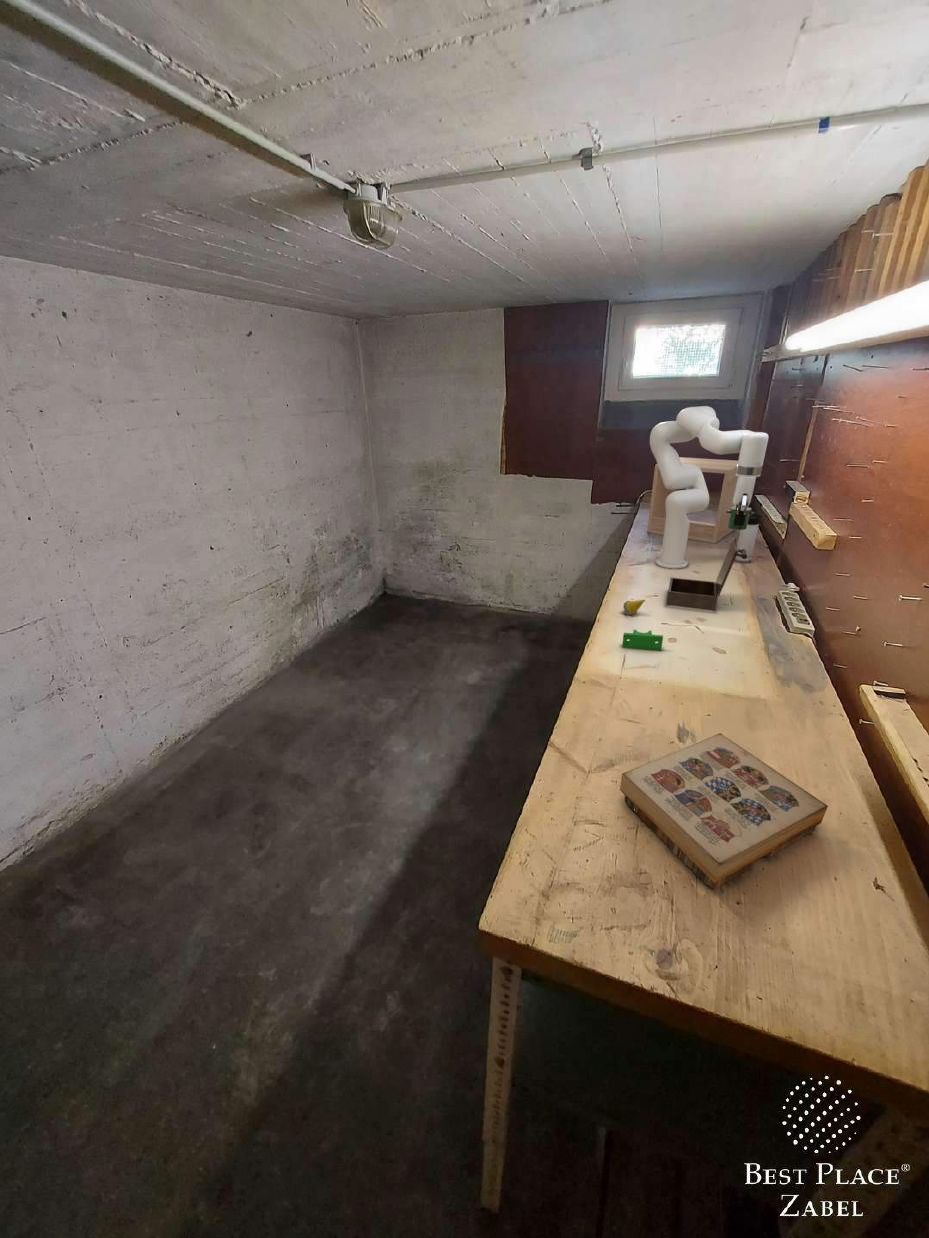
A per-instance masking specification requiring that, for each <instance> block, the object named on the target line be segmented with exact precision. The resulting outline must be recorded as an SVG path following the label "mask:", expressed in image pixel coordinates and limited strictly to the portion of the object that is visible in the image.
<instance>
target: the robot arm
mask: <svg viewBox="0 0 929 1238" xmlns="http://www.w3.org/2000/svg"><path fill="white" fill-rule="evenodd" d="M719 429H720V419H719V418H718V417H717V413H716V411H715V409H714V408H713V407H712V406H708V405H702V406H690V407H689V406H688V407H686V408H684V409H682V410H680V411H679V412H678V414H677V415H676V420H670V421H663V422H660V423H658V424H656V425H655V426H654V427H653V428H652V429H651V432H650V434H649V446H650V451H651V453H652V455H653V457H654V459H655V461H656V463H657V464H656V465H658V467H659V471H660V474H661V477H662V481H663V484H664V486H665V488H667V489H669V490H675V489H677V491H675V492H672V493H671V494H669V495H668V497H667V499H666V503H665V506H666V521H665V529H664V535H663V536H662V537H663V538H662V543H661V544H662V545H661V549H660V550H659V551H657V552H656V555H659V557H658V558H657V559H656V560H655V563H656V565H657V566H660V567H662V568H665V569H671V570H672V569H675V570H676V569H677V570H679V569H683V568H686V567H687V566H688V561H687V560H685V558H686V557H685V556H686V550H687V544H688V540H689V539H688V533H689V525H690V524H689V520H690V519H689V518H688V515H687V514H692V513H698V512H702V511H705V510H706V509H708V507H709V504H710V494H709V490H708V487H707V484H706V480H705V477H704V474H703V472H702V471H701V469H700V468H699V467H698V466H696V465H692V464H690V465H682V464H681V462H680V459H679V457H680V456H679V453H678V452H677V450H676V449H675V448H674V447H673V446H672V445H671V444H676V443H677V444H678V443H687V442H689V441H692V440H694V439H695V438H698V441H699V445H700V446H701V447H702V448H703V449H704V450H707V451H708V452H711V453H712V454H715V455H731V454H739V456H738V460H737V461H738V465H737V470H736V476H738V480H737V484H736V488H735V493H734V497H733V504H734V505H735V506H738V508H737V513H736V514H735V519H734V525H740V526H743V525H744V521H745V517H746V509H747V507H749V506H750V505H751V502H752V498H753V493H754V489H755V485H756V479H757V478H760V477H761V476H762V475H761V474H762V470H763V465H764V460H765V456H766V452H767V448H768V447H767V446H768V442H769V438H770V437H769V434H768V433H766V432H761V431H752V430H749V429H737V430H725V431H722V430H719ZM739 507H741V508H739Z"/></svg>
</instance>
